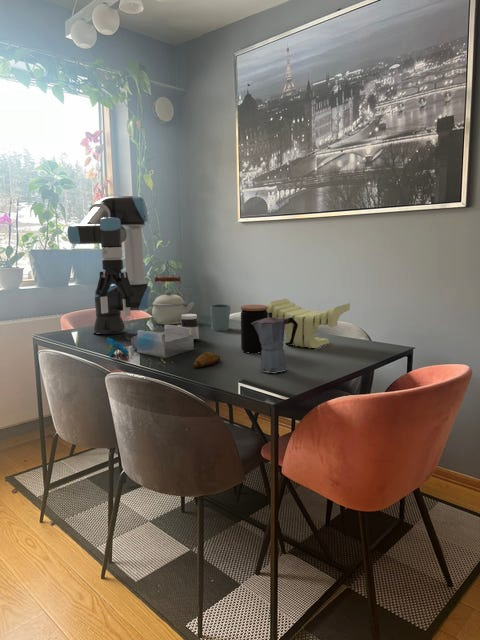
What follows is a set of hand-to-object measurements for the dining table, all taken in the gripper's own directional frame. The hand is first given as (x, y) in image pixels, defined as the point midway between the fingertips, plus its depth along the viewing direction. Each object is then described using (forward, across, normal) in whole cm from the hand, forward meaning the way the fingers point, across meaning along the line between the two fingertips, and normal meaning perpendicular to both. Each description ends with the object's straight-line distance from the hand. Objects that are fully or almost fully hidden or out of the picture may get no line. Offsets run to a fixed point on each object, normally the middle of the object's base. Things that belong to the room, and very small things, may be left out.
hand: (115, 314), depth 182 cm
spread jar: (+16, +4, +34) cm, 38 cm away
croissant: (+17, +39, +9) cm, 43 cm away
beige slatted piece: (+16, +53, +56) cm, 79 cm away
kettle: (+16, -35, +64) cm, 75 cm away
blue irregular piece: (+16, 0, 0) cm, 16 cm away
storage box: (+17, +8, +15) cm, 24 cm away
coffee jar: (+16, +41, +35) cm, 56 cm away
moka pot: (+16, +63, +16) cm, 67 cm away
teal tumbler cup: (+16, 0, +63) cm, 65 cm away
